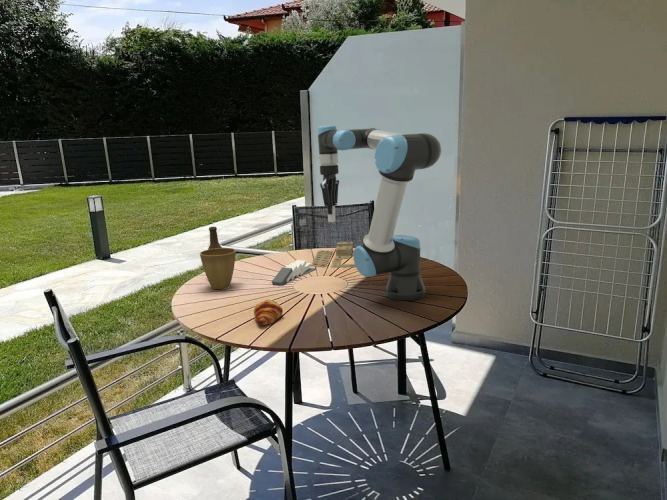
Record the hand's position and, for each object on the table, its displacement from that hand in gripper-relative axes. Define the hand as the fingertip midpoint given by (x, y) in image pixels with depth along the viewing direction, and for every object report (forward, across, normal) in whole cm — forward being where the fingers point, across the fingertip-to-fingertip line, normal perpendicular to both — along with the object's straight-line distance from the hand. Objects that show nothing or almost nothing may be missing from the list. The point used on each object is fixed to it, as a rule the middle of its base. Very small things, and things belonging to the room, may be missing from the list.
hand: (331, 221), depth 215 cm
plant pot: (+27, +22, -44) cm, 56 cm away
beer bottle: (+27, +11, -54) cm, 62 cm away
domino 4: (+26, -1, -22) cm, 34 cm away
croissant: (+27, +46, -3) cm, 53 cm away
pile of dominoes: (+27, -38, -16) cm, 49 cm away
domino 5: (+26, -5, -22) cm, 34 cm away
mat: (+26, -12, -22) cm, 37 cm away
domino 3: (+26, +3, -22) cm, 34 cm away
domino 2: (+26, +7, -22) cm, 35 cm away
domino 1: (+26, +11, -22) cm, 36 cm away
